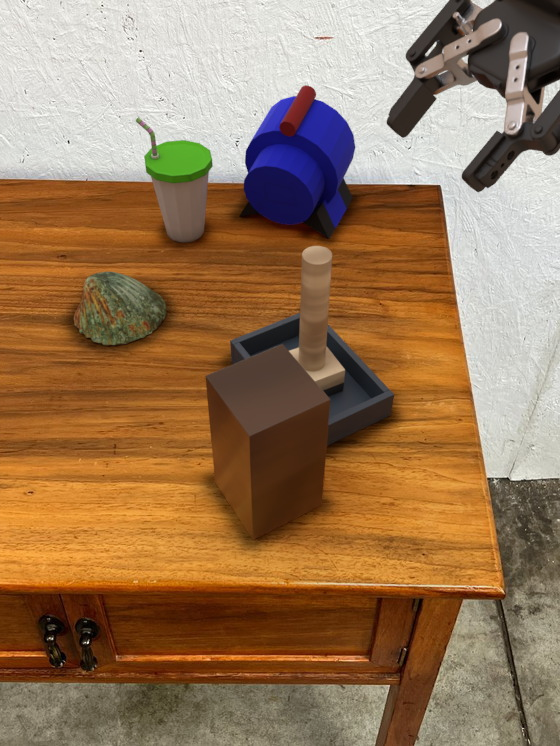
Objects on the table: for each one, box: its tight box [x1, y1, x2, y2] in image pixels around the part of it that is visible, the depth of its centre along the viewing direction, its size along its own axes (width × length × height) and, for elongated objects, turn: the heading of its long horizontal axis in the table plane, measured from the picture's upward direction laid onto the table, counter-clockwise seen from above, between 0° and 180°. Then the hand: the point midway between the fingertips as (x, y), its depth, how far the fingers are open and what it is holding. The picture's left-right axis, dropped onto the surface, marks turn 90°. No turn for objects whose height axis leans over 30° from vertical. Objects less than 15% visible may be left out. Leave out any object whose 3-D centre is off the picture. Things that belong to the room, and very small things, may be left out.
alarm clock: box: [239, 84, 356, 240], centre depth 94 cm, size 12×12×15 cm
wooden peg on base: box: [289, 245, 345, 396], centre depth 72 cm, size 5×5×16 cm
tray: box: [229, 312, 395, 447], centre depth 77 cm, size 14×10×3 cm
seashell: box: [73, 271, 168, 347], centre depth 84 cm, size 10×4×10 cm
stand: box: [205, 344, 330, 541], centre depth 64 cm, size 7×7×14 cm
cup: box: [135, 116, 214, 244], centre depth 91 cm, size 8×8×15 cm
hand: (430, 157), depth 55 cm, fingers open, 8 cm apart
